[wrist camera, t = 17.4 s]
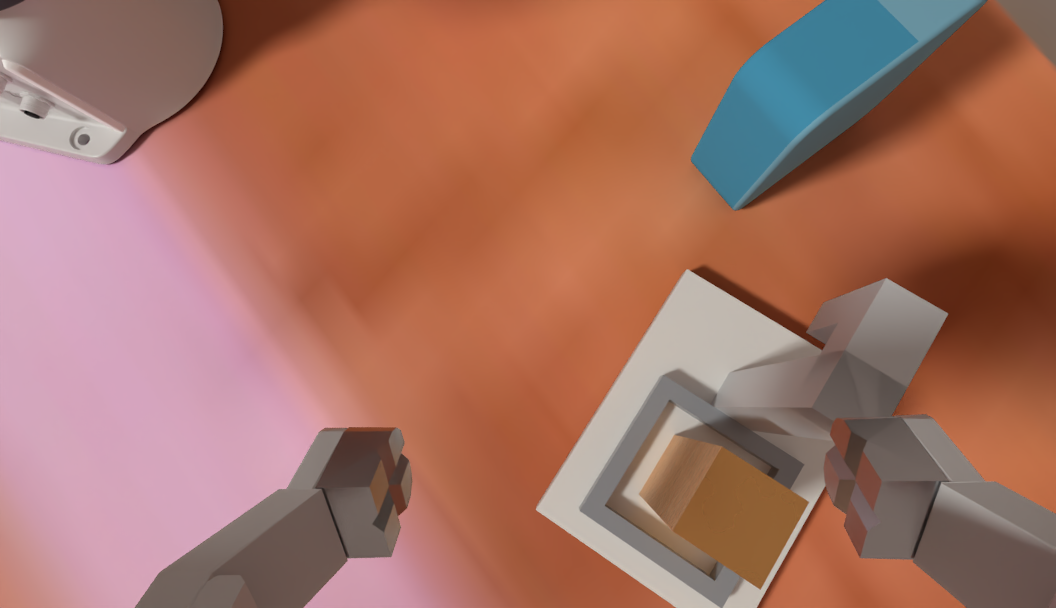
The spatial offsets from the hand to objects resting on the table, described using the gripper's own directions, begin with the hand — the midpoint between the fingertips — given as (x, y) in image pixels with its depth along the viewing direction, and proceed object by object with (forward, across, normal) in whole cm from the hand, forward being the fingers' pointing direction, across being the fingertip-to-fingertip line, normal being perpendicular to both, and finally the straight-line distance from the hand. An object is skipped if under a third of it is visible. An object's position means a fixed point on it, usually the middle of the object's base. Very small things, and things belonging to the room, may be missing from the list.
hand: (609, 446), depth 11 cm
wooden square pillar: (+16, -5, +18) cm, 25 cm away
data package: (+32, -13, +3) cm, 34 cm away
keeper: (+18, -6, +18) cm, 26 cm away
